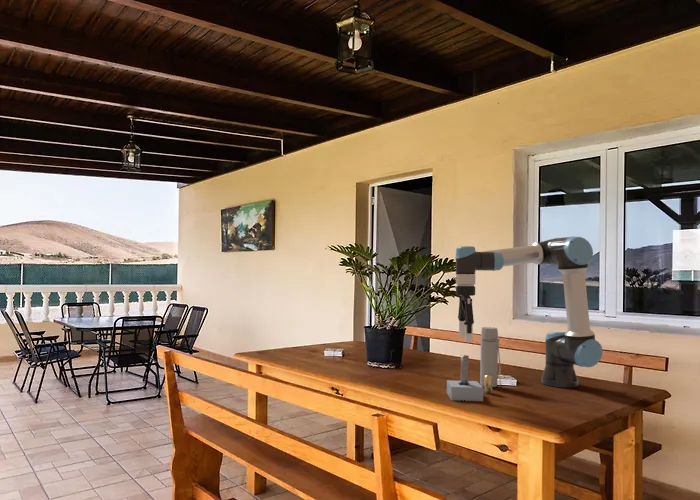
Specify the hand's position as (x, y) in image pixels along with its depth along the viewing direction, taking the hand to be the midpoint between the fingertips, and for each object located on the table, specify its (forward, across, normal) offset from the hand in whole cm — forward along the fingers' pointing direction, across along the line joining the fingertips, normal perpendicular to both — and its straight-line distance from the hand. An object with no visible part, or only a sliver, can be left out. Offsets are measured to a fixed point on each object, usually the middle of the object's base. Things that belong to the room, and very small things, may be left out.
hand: (465, 339), depth 204 cm
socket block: (+22, 0, 0) cm, 22 cm away
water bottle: (+23, -21, +14) cm, 34 cm away
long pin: (+22, 0, 0) cm, 22 cm away
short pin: (+22, -8, +10) cm, 26 cm away
